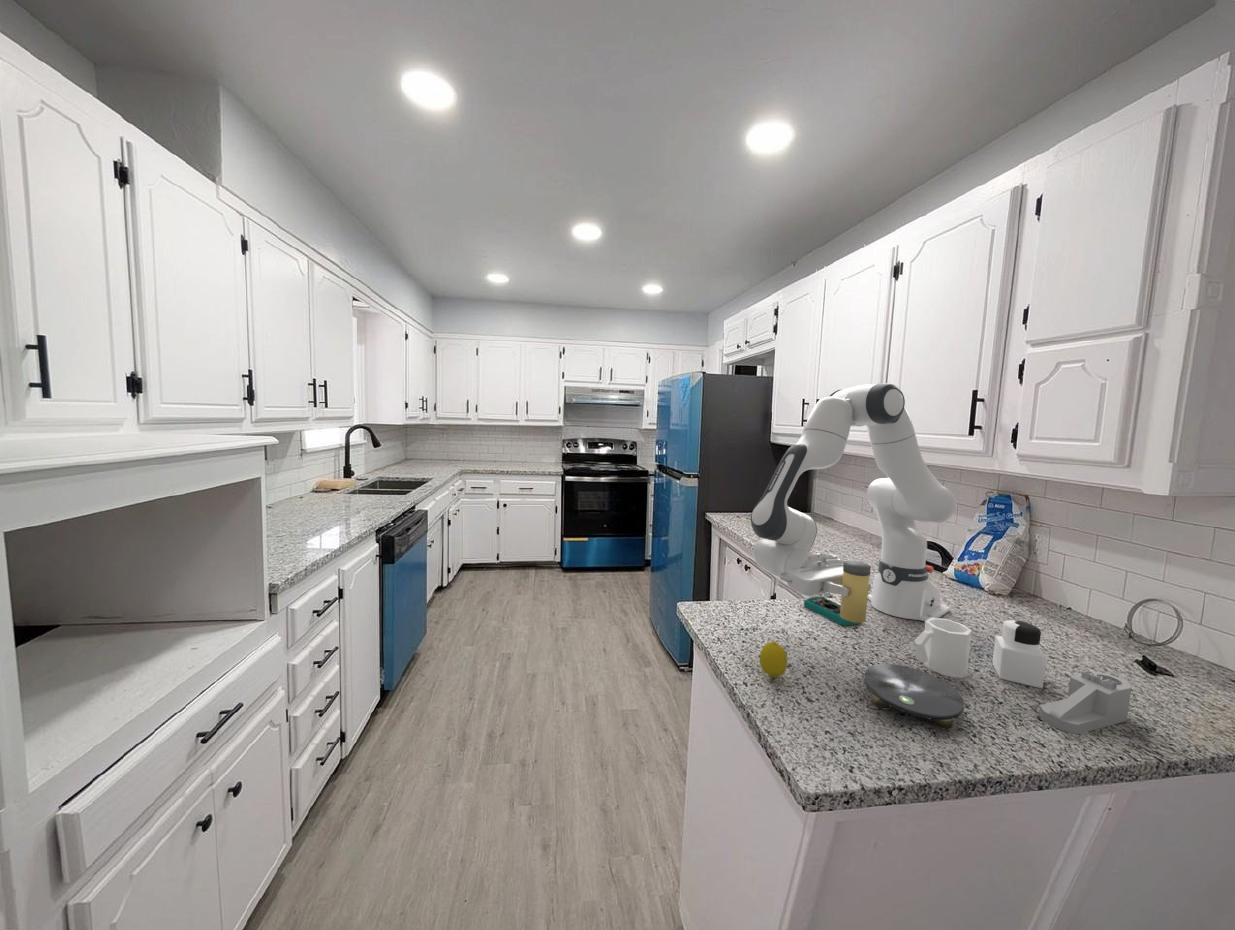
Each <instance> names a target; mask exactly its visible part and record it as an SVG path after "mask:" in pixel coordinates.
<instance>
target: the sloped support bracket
mask: <svg viewBox="0 0 1235 930" xmlns="http://www.w3.org/2000/svg"><path fill="white" fill-rule="evenodd" d="M1067 694H1068V695H1067V698H1065V699H1060V700H1057V701H1052V702H1047V703H1042V704H1039V707H1038V715H1039V717H1040V719H1041V720H1042V721H1043V722H1045V723H1047V724H1049V725H1051V726H1053V727H1054V728H1056V729H1058V730H1060V731H1063V732H1066V733H1070V734H1074V735H1079V734H1083V733H1087V732H1090V731H1094V730H1097V729H1101V728H1106V727H1108V726H1109V727H1110V726H1113V725H1116V724H1120V723H1124V722H1126V721H1128V716H1129V707H1130V701H1131V694H1132V684H1131V683H1129V681H1127V680H1125V679H1123V678H1121V677H1118V676H1116V675H1113V674H1109V673H1106V672H1102V671H1094V670H1090V671H1089V670H1083V671H1082V670H1081V673H1077V674H1072V675H1071V676H1070V678H1069V686H1068V693H1067Z"/></svg>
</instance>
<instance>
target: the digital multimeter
mask: <svg viewBox="0 0 1235 930" xmlns="http://www.w3.org/2000/svg"><path fill="white" fill-rule="evenodd" d="M803 607H804V608H807V609H808V610H811V611H813V612H814V613H817V614H819V615H820V616H823V617H825V618H827V619H829V620H831V621H832V620H833V621H832V622H835V623H837V624H838V625H839V626H842V627H845V626H851V625H852V626H853V625H856V624H858V623H855V622H850V621H847V620H845V619H843V618H842V617H841V616H840V609H841V604H838V603H837V602H834V601H832V600H830V599H828V598H826V597H823V596H813V597H812V596H811V597H809V598H806V599H805V600H804V601H803Z"/></svg>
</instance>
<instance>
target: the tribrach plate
mask: <svg viewBox="0 0 1235 930" xmlns="http://www.w3.org/2000/svg"><path fill="white" fill-rule="evenodd" d="M864 684H865V686H866V688H867V689H868V690H869V691H870V692H871V700H870V701H871V703H872V705H874V706H875V707H878V708H879V709H884V710H887V709H890V708H891V707H893V708H895V709H897V710H898V711H899V710H900V711H902V712H905V713H907V714H909V715H913V716H917V717H919V718H920V717H921V718H923V719H924V718H925V719H929V720H930V722H931V724H933V725H934V726H935V727H938V728H940V729H942V730H951V729H952V726H953V720H955V719H957V718H959V717H960V716H961V715H962V714H963V713H964V708H965V701H964V698H963V696H962V694H961V693H960V692H959V691H958V690H957V689H956V688H955V687H953V686H952V685H950V683H948V682H947V681H945V680H943V679H941V678H940V677H937V676H935V675H934V674H933V675H932V674H931V673H928V672H925V671H923V670H920V669H917V668H914V667H909V666H905V665H901V664H894V663H877V664H874V665H871V666H869V667H867V668H866V669H865V671H864Z"/></svg>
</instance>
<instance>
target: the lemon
mask: <svg viewBox="0 0 1235 930" xmlns="http://www.w3.org/2000/svg"><path fill="white" fill-rule="evenodd" d="M759 664H760V667H761V669H762V671H763V672H764V674H766V675H767V676H769V677H770V678H772V679H775V678H777V677H781V676H782V675H783V674H784V673H785V672H786V670H787V667H788V656H787V651H786V650H785V648H784V647H783V646H782V645H781V644H779V643H778V642H776V641H770V642H767V643H766V644H764V645H763V646H762V648H761V651H760V654H759Z"/></svg>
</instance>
